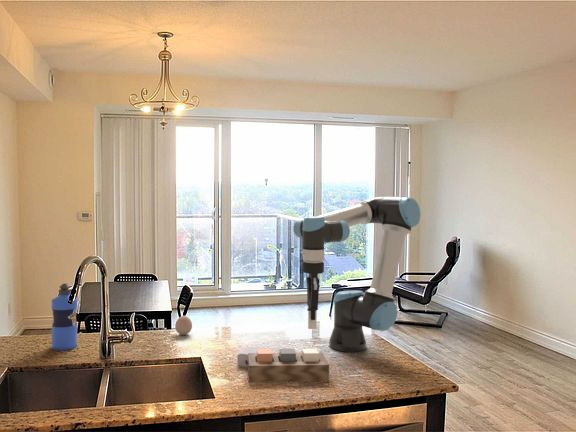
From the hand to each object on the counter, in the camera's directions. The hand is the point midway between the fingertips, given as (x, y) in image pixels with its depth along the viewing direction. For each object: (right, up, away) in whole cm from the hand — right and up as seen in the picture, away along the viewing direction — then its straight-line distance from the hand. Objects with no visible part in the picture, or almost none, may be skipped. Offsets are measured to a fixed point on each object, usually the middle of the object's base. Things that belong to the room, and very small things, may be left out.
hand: (312, 328), depth 180 cm
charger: (-21, -15, +14) cm, 29 cm away
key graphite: (-9, -14, 0) cm, 16 cm away
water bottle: (-96, -13, +23) cm, 100 cm away
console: (-9, -16, 0) cm, 18 cm away
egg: (-54, -13, +44) cm, 71 cm away
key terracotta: (-17, -14, -1) cm, 22 cm away
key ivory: (-1, -14, 0) cm, 14 cm away
